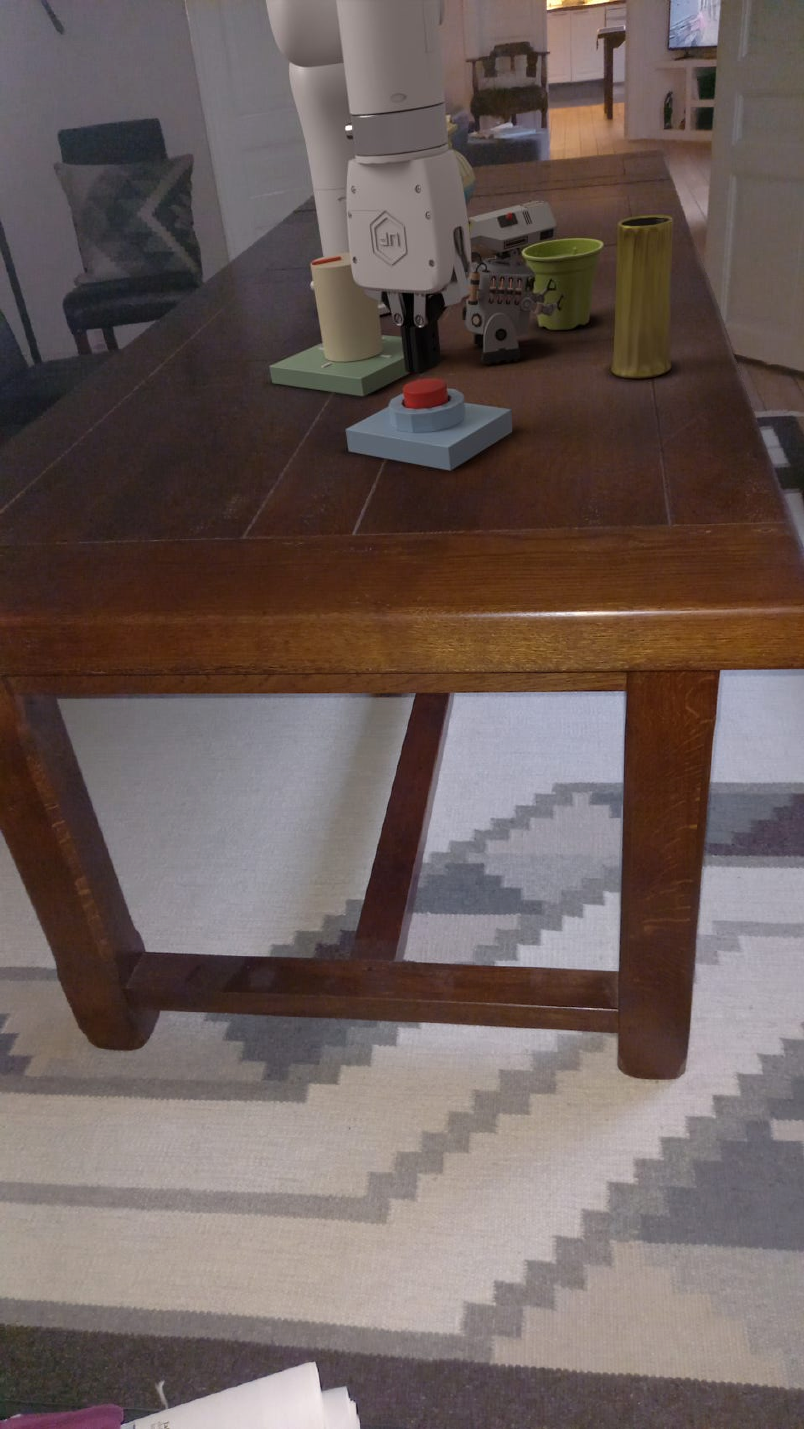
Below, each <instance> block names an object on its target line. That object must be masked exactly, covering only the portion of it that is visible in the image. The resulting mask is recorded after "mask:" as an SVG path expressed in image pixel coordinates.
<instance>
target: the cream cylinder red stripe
mask: <svg viewBox="0 0 804 1429" xmlns="http://www.w3.org/2000/svg"><path fill="white" fill-rule="evenodd" d="M310 271H311V278H312V281H313V284H314V290H315V291H314V295H315V302H316V310H317V316H318V323H319V326H320V327H319V328H320V335H321V341H322V342H321V343H323V348H324V355H325V358H326V359H328V360H330V361H336V362H350V361H358V360H363V359H367V358H371V357H373V356H376V355H378V354H379V353H381V352H382V351H383V342H382V335H383V333H382V327H381V318H380V315H379V309H378V301H377V300H375V299H372V298H369V297H368V296H366V294H365V290H364V288H361V287H360V286H358V285H357V284H356V283H355V281H354V278H353V274H352V268H351V261H350V252H349V253H340V254H334V255H329V256H325V257H323V256H321V257H318V258H316V259H314V260H312V261H311V262H310Z"/></svg>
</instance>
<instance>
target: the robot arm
mask: <svg viewBox="0 0 804 1429" xmlns="http://www.w3.org/2000/svg"><path fill="white" fill-rule="evenodd" d="M265 4H266V10H267V15H268V20H269V25H270V28H271V32H272V36H273V38H274V41H275V45H276V46H277V48H278V51H279V52H280V53H281V55H282V56H283V57H284V58H285V59H286V60H287V62H289V66H288V77H289V84H290V88H291V93H292V97H293V100H294V104H295V107H296V112H297V115H298V118H299V123H300V125H301V130H302V135H303V139H304V142H305V148H306V154H307V160H308V165H309V171H310V177H311V184H312V189H313V198H314V204H315V210H316V217H317V224H318V231H319V236H320V244H321V250H322V255H323V256H322V257H325V256H329V255H334V254H340V253H349V252H350V261H351V268H352V274H353V278H354V281H355V283H356V284H357V285H358V286H360V287H361V288H364V290H365V294H366V296H368V297H369V298H372V299H375V300H377V301H378V309H379V316H381V315H386V314H389V313H391V317H392V321H393V323H394V325H396V326H397V327H399V328H400V337H401V338H402V347H403V355H404V362H405V370H406V372H411V373H410V374H412V373H415V374H420V375H422V374H424V373H426V372H429V371H430V370H433V369H434V368H436V367H438V366H440V363H441V346H440V334H439V323H438V322H439V321H440V320H442V319H443V317H444V312H445V311H446V310H447V309H448V308H449V306H453V305H457V304H461V303H462V302H466V300H467V299H469V297H470V291H469V287H468V283H467V278H468V277H469V275H470V272H471V260H472V255H471V253H472V247H471V244H470V233H469V224H468V218H469V216H468V209H467V207H466V203H465V196H464V191H463V186H462V180H461V176H460V172H459V167H458V163H457V160H456V156H455V153H454V150H455V149H454V150H448V135H447V122H446V115H447V111H446V110H447V108H446V102H445V101H446V98H445V97H446V96H445V85H444V84H445V83H444V71H443V59H442V58H443V57H442V46H441V32H440V26H441V25H442V24H443V23H444V19H445V10H446V8H445V7H446V6H445V0H265ZM309 286H310V290H311V291H314V292H315V290H314V284H313V280H311V282H310V285H309ZM445 286H446V288H445Z"/></svg>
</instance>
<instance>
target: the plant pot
mask: <svg viewBox="0 0 804 1429" xmlns="http://www.w3.org/2000/svg"><path fill="white" fill-rule="evenodd" d="M603 249H604V243H603V241H602V240H599V239H596V238H595V239H594V238H585V237H584V238H582V237H580V238H579V237H576V238H574V237H573V238H572V237H571V238H561V239H554V240H545V241H542V242H538V243H534V244H531V245H528V246H527V247H525V248H523V250H522V251H521V255H522V257H523V258H524V259H525V262H526V263H525V264H526V266H528V267H530V268H531V269H532V271H533V272H534V273H535V280H536V281H535V282H534V290H533V292H534V293H537V292H539V293H541V292H542V291H543V290H544V289H545V288H547V285H548V283H549V280H550V278H551V279H552V280H553V281H554V282H555V283H554V282H552V281H551V284H550V287H549V288H554V287H555V284H556V290H554V291H548V293H547V294H546V295H545V296H544V297H545V302H544V303H543V304H544V305H545V304H546V303H547V302H549V303H552V304H555V303H557V302H558V301H559V299H560V297H561V295H562V294H563V296H564V299H563V298H562V299H561V301H560V304H559V307H561V305H562V308H561V311H559V310H558V308H556V309H554V311H553V314H552V315H551V316H548V315H544V314H542V313H541V314H540V315H538V314H536V317H537V318H536V319H537V323H538V327H540V328H546V329H547V330H548V331H549V330H550V331H568V330H569V331H570V330H573V329H574V328H576V327H577V326H579V325H580V326H585V325H586V324H588V323H589V321H590V315H591V309H592V308H591V307H592V298H593V293H594V292H593V290H594V283H595V276H596V271H597V264H598V263H599V259H600V255H601V251H602V250H603Z"/></svg>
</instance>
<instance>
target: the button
mask: <svg viewBox="0 0 804 1429" xmlns="http://www.w3.org/2000/svg"><path fill="white" fill-rule="evenodd" d="M447 388H448V385H447V382H446V380H444V379H441V378H421V379H416V380H412V381H410V382H408V383H406V384H405V385H404V386H403V387H402V393H404V401H405V407H406V408H411V409H429V408H433V407H437V406H441V405H444V404H446V403H447V402H448V395H447Z"/></svg>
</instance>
